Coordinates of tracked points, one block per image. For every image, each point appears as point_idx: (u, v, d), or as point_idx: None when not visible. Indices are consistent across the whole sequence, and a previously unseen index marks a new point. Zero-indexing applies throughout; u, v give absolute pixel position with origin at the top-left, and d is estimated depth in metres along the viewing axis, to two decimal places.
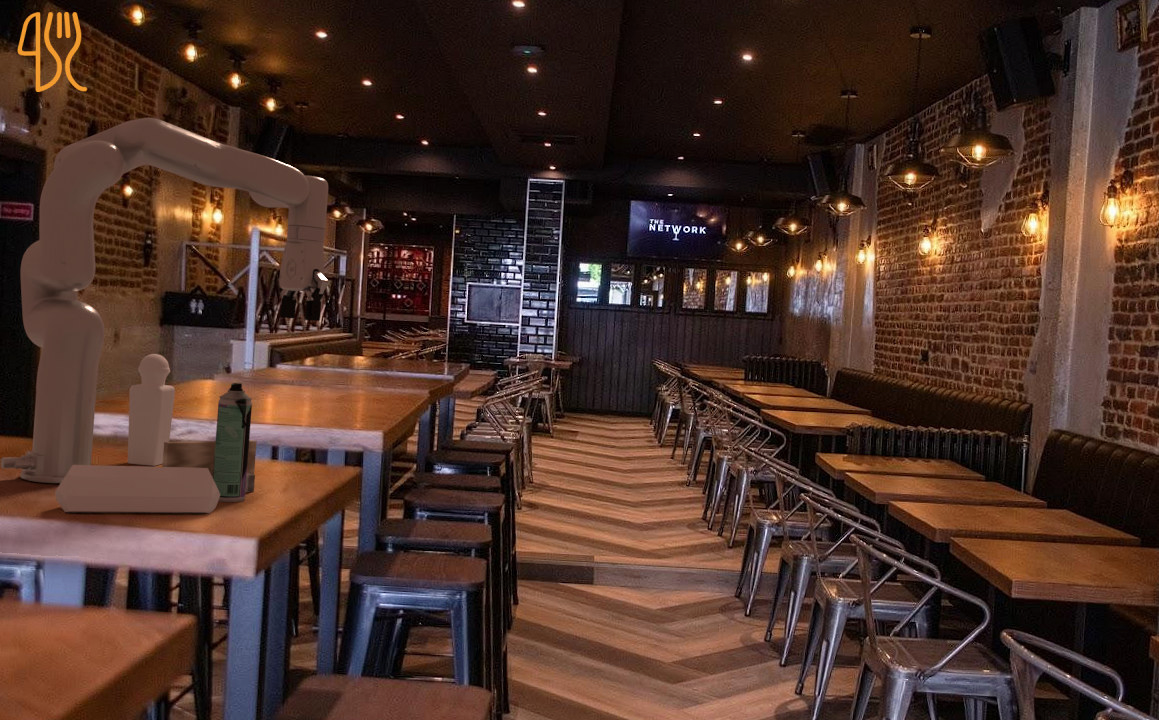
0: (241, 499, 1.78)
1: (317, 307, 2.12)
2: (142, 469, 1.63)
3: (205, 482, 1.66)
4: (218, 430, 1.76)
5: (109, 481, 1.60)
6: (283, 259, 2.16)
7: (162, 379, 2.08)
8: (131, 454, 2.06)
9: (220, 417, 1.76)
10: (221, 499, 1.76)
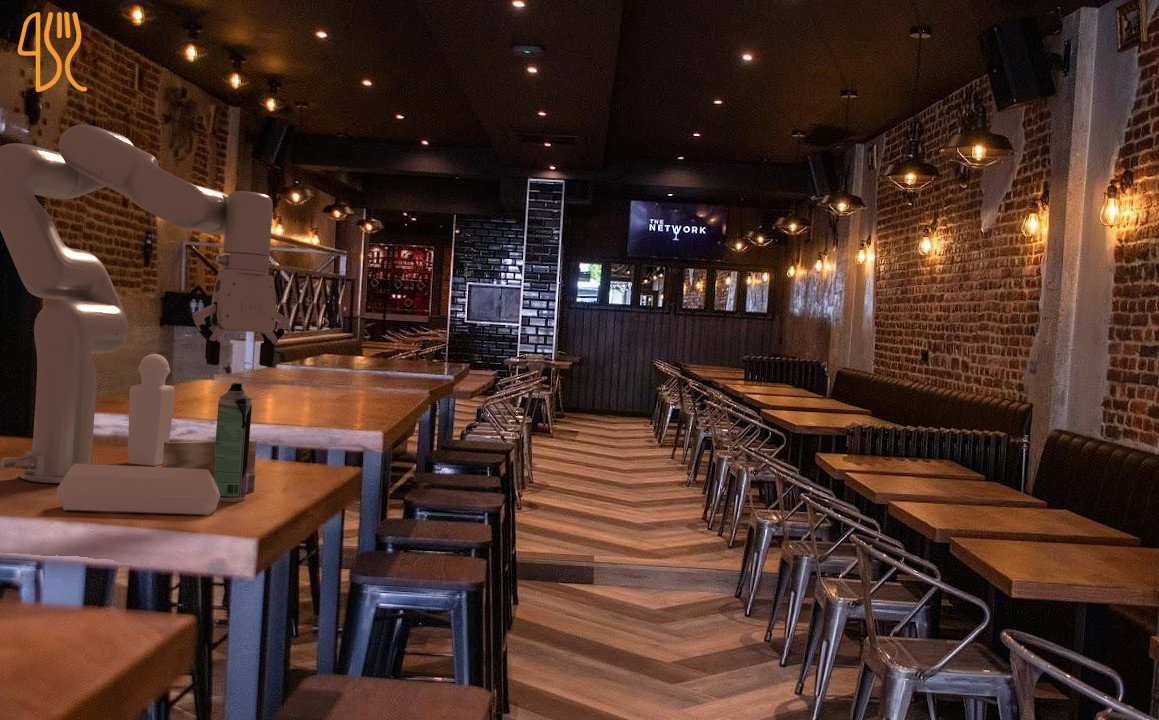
0: (241, 499, 1.78)
1: None
2: (142, 469, 1.63)
3: (203, 483, 1.64)
4: (218, 430, 1.76)
5: (107, 480, 1.60)
6: (230, 293, 1.73)
7: (162, 379, 2.08)
8: (131, 454, 2.06)
9: (220, 417, 1.76)
10: (221, 499, 1.76)
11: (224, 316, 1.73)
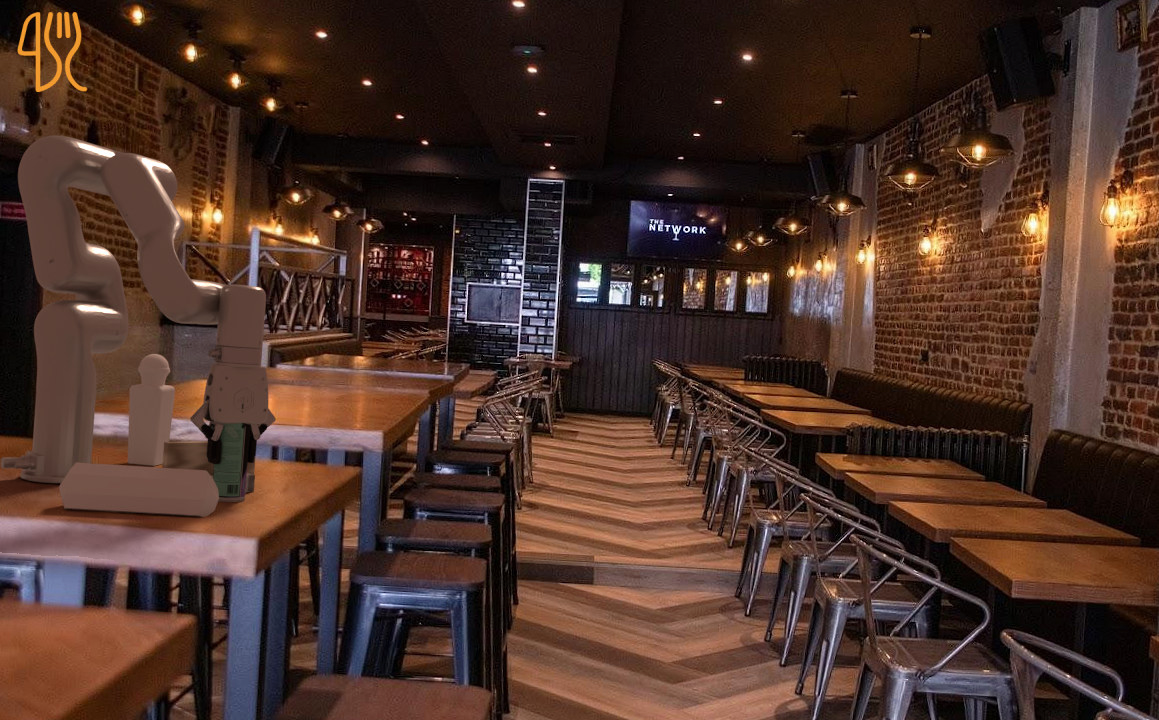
0: (241, 499, 1.78)
1: None
2: (141, 469, 1.63)
3: (200, 484, 1.63)
4: None
5: (107, 480, 1.61)
6: (223, 387, 1.74)
7: (162, 379, 2.08)
8: (131, 454, 2.06)
9: None
10: (221, 499, 1.76)
11: (216, 410, 1.73)
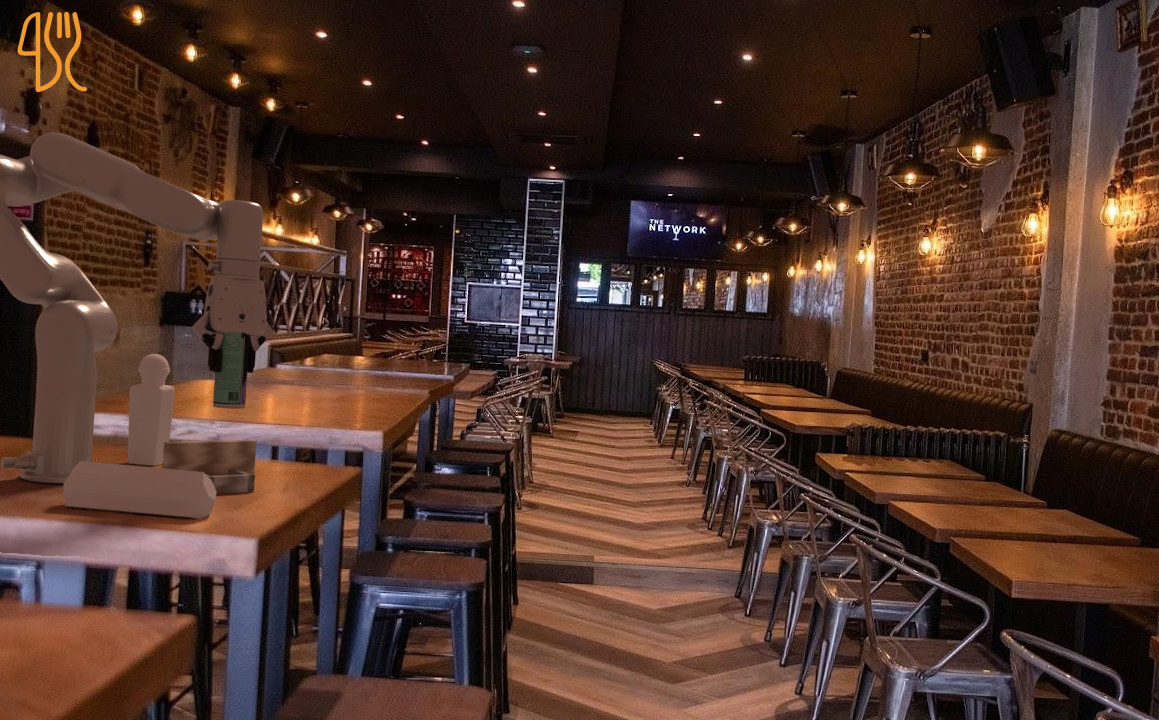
0: (241, 406, 1.86)
1: None
2: (141, 469, 1.63)
3: (195, 486, 1.61)
4: None
5: (106, 479, 1.62)
6: (222, 298, 1.81)
7: (162, 379, 2.08)
8: (131, 454, 2.06)
9: None
10: (222, 406, 1.84)
11: (216, 319, 1.81)
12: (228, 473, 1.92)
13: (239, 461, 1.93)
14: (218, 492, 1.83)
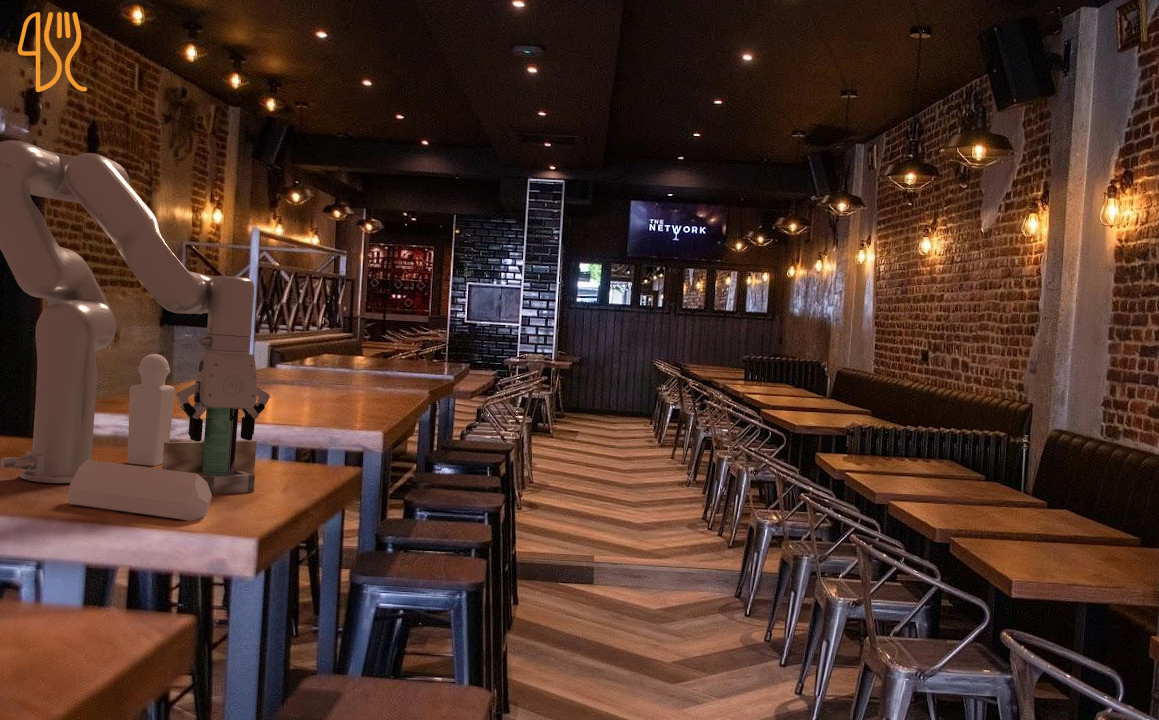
0: None
1: None
2: (140, 469, 1.63)
3: (187, 487, 1.59)
4: (207, 423, 1.85)
5: (107, 478, 1.62)
6: (213, 374, 1.83)
7: (162, 379, 2.08)
8: (131, 454, 2.06)
9: (208, 410, 1.85)
10: None
11: (207, 395, 1.82)
12: None
13: (239, 461, 1.93)
14: (218, 492, 1.83)
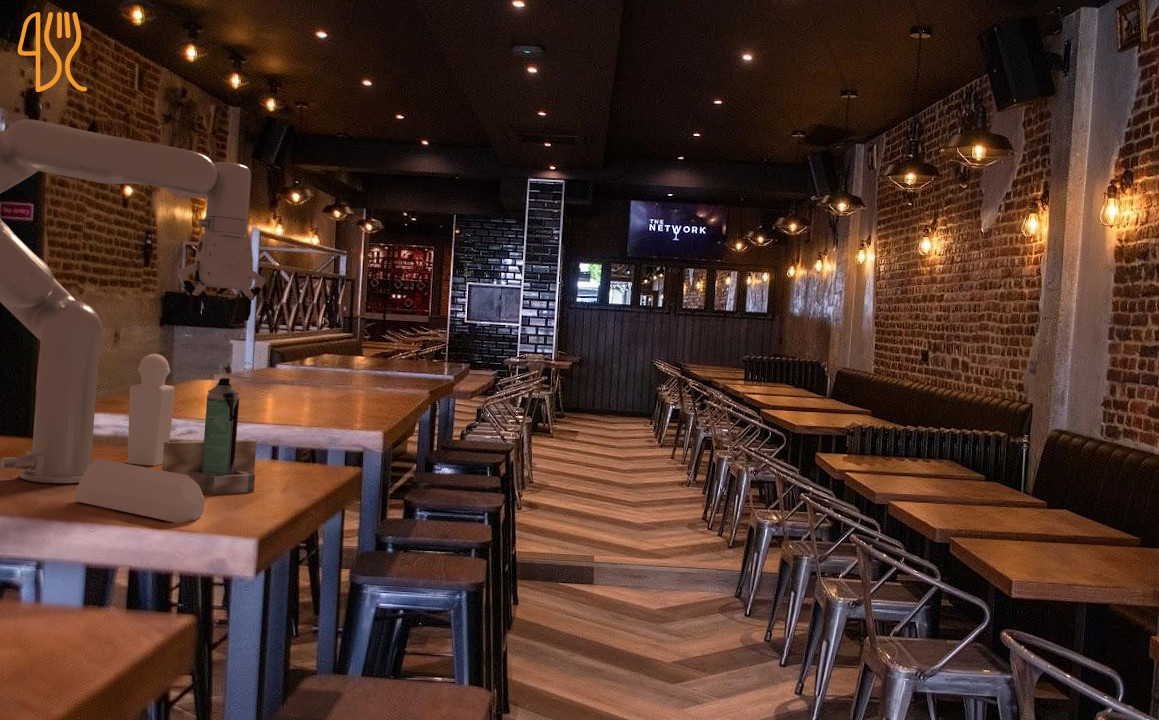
0: None
1: None
2: (139, 469, 1.63)
3: (174, 489, 1.58)
4: (207, 423, 1.85)
5: (109, 477, 1.64)
6: (211, 253, 1.93)
7: (162, 379, 2.08)
8: (131, 454, 2.06)
9: (208, 410, 1.85)
10: None
11: (205, 273, 1.93)
12: None
13: (239, 461, 1.93)
14: (218, 492, 1.83)
